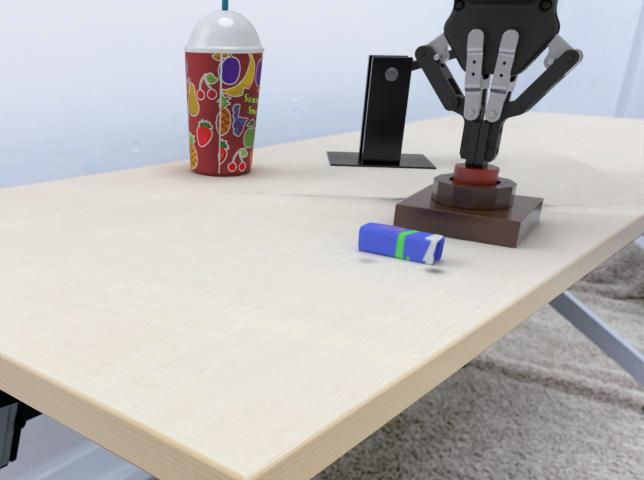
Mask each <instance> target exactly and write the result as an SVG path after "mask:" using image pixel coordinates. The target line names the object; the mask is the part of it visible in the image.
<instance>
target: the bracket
mask: <svg viewBox="0 0 644 480" xmlns="http://www.w3.org/2000/svg"><path fill="white" fill-rule="evenodd" d="M367 58H368V59H367V69H366V77H365V78H366V79H365V87H364V98H363V108H362V118H361V126H360V134H359V135H360V137H359V145H358V146H359V147H358V151H331V150H329V151H326V156H327V159H328V163H329V166H330V167H349V168H350V167H352V168H382V169H383V168H384V169H410V170H411V169H412V170H413V169H414V170H437V166H436V165H434V164H433V162H432V161H430V159H428V157H426V156H425V154H423V153H402V151H403V142H404V134H405V129H406V128H405V126H406V121H407V120H406V118H407V111H408V102H409V95H410V87H411V79H412V73H413V71H412V65H413V60H414V57H413V56H409V55H404V54H403V55H402V54H401V55H400V54H399V55H398V54H397V55H395V54H368V57H367Z"/></svg>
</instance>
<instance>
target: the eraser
mask: <svg viewBox="0 0 644 480" xmlns="http://www.w3.org/2000/svg"><path fill="white" fill-rule="evenodd" d="M445 242H446V237H444V236H442V235H437V234H431V233H426V232H420V231H416V230H411V229H406V228H402V227H397V226H393V224H392V225H391V224H384V223H378V222H367V223H364V224H362V225H360V227H359V229H358V242H357V248H358V250H359V251H361V252H362V251H363V252H369V253H372V254H378V255H383V256H388V257H391V258H396V259H399V260H404V261H409V262H415V263H420V264H424V265H429V266H432V265H433V264H434V262H435V260H436V261H441V259H442V256H443V252H444V246H445Z"/></svg>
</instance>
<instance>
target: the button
mask: <svg viewBox="0 0 644 480" xmlns="http://www.w3.org/2000/svg"><path fill="white" fill-rule="evenodd" d="M500 171H501V167H499V166H497V165H494V164H490V163H488V166H486V167H485V168H475V167H466V166H465V162H459V163H456V164H454V168H453V173H454V174H453V182H457V183H461V184H468V185H483V186H491V185H497V182H498V177H500V176H499V175H500Z"/></svg>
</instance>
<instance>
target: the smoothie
mask: <svg viewBox="0 0 644 480" xmlns="http://www.w3.org/2000/svg"><path fill="white" fill-rule="evenodd" d="M183 51H184V64H185V65H184V66H185V67H184V69H185V85H186V105H187V107H186V108H187V126H188V146H189V165H190V169H191V170H193V171H194V173H197V174H199V175H203V176H210V177H234V176H235V177H236V176H241V175H246V174H247V173H248V171H251V169H252V167H253V157H254V148H255V147H254V146H255V139H256V136H255V135H256V129H257V118H258V108H259V97H260V88H261V79H262V72H263V71H262V69H263V59H264V53H265V47H264V46H263V45H262V43H261V39H260V37H259V34H258V31H257V30H256V28H255V26H254V25H253V24H252V22H251V21H250V20H248V19H247V17H245V16H244V15H242V14H240V13H238V12H236V11H234V10H229V0H221V9H219V10H215V11H214V12H211V13H209V14H207V15H205V16H204V17H203V18H201V19H200V20H199V21H198V22H197V23H196V25H195V26H194V28H193V30H192V31H191V33H190V35H189V37H188V41H187V43H186V45H185V46H183Z"/></svg>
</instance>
